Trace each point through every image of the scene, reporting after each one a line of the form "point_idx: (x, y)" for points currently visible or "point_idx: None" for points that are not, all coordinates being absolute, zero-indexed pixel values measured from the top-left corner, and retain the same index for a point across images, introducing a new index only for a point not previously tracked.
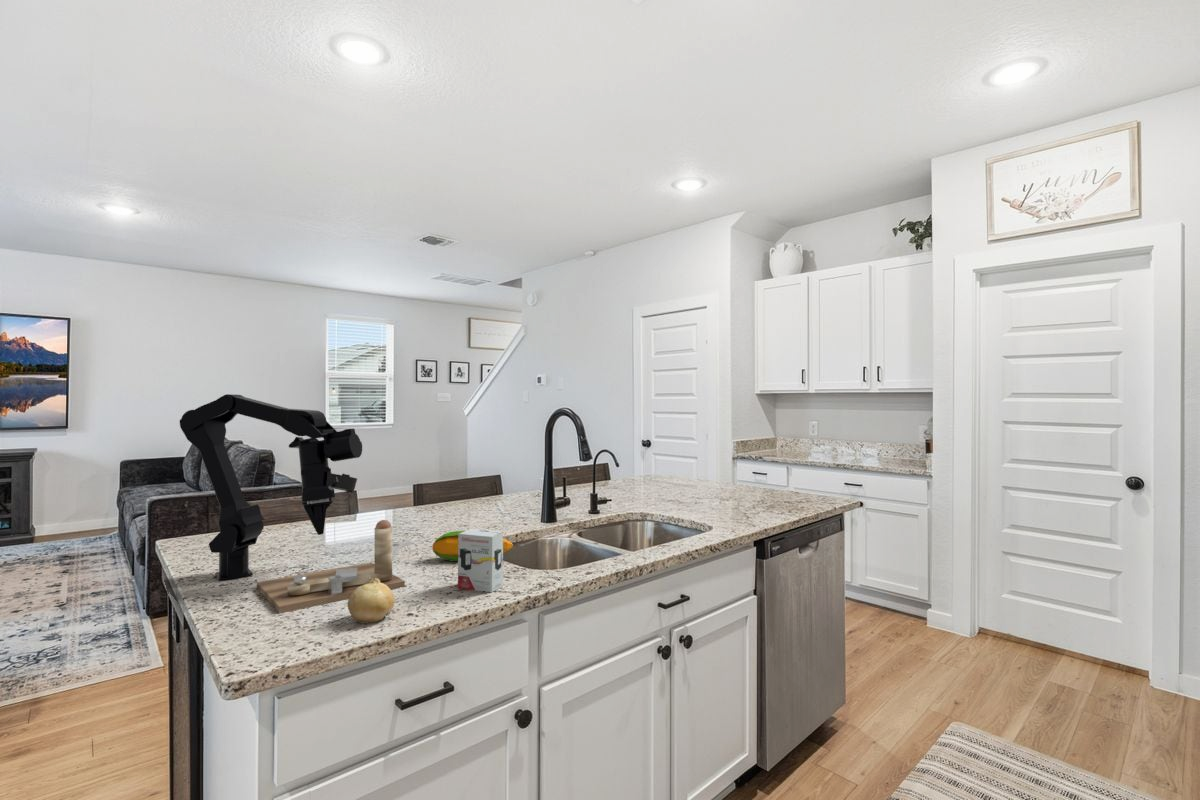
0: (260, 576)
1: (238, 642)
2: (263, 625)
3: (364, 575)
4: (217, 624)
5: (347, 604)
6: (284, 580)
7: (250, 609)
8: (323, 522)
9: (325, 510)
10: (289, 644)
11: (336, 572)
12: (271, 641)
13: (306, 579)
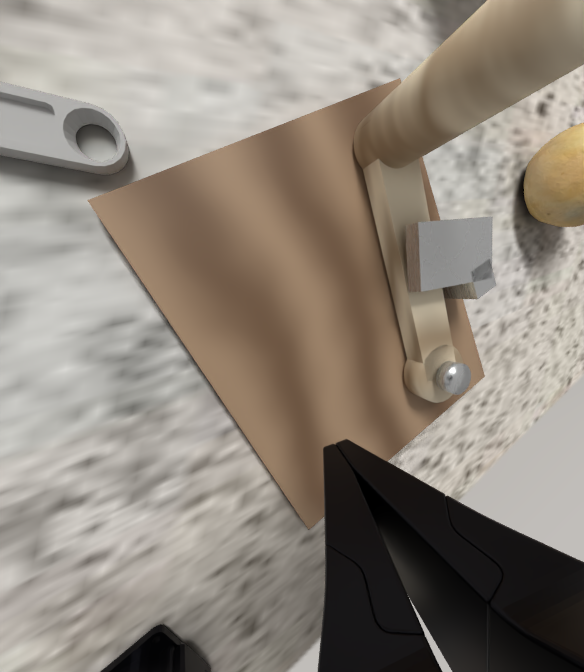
0: (172, 589)
1: (548, 380)
2: (509, 374)
3: (417, 202)
4: (486, 452)
5: (575, 226)
6: (307, 462)
7: (438, 439)
8: (414, 485)
9: (580, 567)
10: (572, 305)
11: (447, 285)
12: (558, 335)
13: (312, 400)
